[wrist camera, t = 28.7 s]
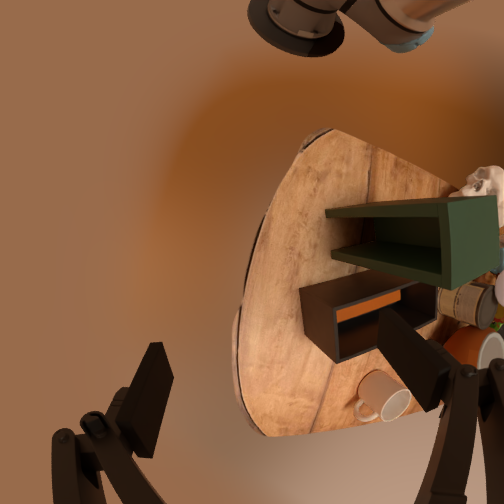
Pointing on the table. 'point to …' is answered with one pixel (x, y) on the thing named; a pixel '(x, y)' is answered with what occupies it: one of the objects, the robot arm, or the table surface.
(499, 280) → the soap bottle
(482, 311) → the coffee can
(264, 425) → the table surface
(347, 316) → the orange rectangular bar
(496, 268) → the chair
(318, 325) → the black open rectangular box
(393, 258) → the stand
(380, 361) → the table surface
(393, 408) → the mug
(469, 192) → the white skull
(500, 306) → the taco
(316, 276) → the table surface
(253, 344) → the table surface
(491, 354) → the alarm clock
